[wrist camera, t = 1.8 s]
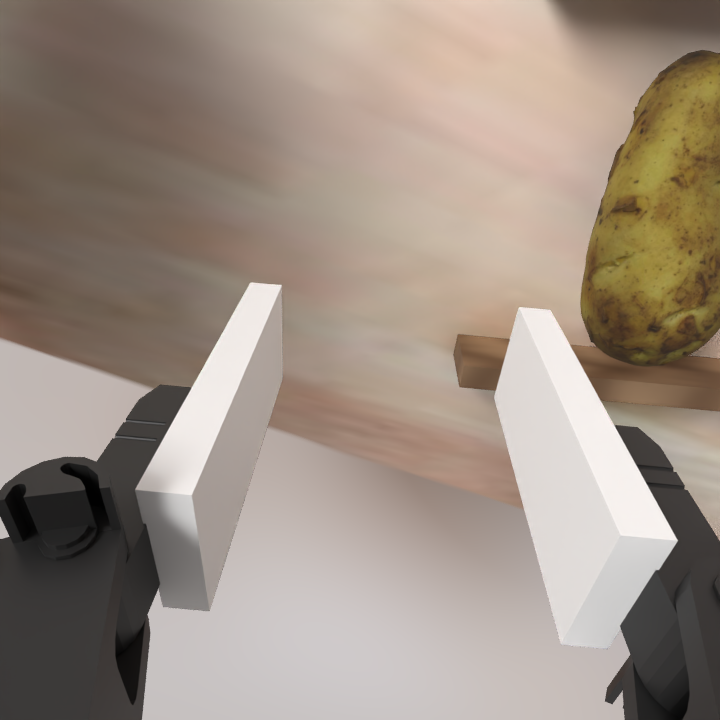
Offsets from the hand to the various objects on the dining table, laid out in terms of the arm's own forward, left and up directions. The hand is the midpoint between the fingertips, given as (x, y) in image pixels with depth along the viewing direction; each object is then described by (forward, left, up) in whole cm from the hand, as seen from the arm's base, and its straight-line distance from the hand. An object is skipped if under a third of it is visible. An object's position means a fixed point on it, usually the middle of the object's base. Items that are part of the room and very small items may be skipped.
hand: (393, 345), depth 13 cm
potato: (+13, 0, -17) cm, 21 cm away
